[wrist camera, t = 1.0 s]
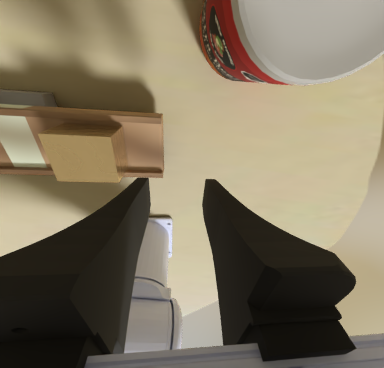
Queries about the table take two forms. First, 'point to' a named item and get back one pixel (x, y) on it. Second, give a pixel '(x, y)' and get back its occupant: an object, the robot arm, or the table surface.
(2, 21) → the table surface
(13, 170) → the beam
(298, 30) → the canned food
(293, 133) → the table surface
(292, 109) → the table surface
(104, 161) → the block
